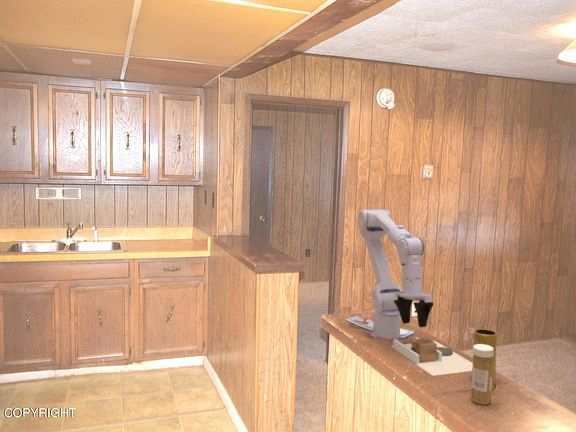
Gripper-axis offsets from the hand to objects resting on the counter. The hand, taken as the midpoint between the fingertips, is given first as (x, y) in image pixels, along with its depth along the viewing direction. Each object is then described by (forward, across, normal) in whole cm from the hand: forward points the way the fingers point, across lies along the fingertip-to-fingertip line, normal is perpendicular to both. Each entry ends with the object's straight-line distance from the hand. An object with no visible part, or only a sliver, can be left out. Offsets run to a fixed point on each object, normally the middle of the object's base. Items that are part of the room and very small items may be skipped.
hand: (414, 324), depth 149 cm
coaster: (+8, +2, +8) cm, 12 cm away
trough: (+8, 0, 0) cm, 8 cm away
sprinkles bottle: (+14, +28, -3) cm, 31 cm away
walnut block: (+9, +4, -1) cm, 10 cm away
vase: (+13, +22, +4) cm, 26 cm away
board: (+10, +4, +3) cm, 12 cm away
